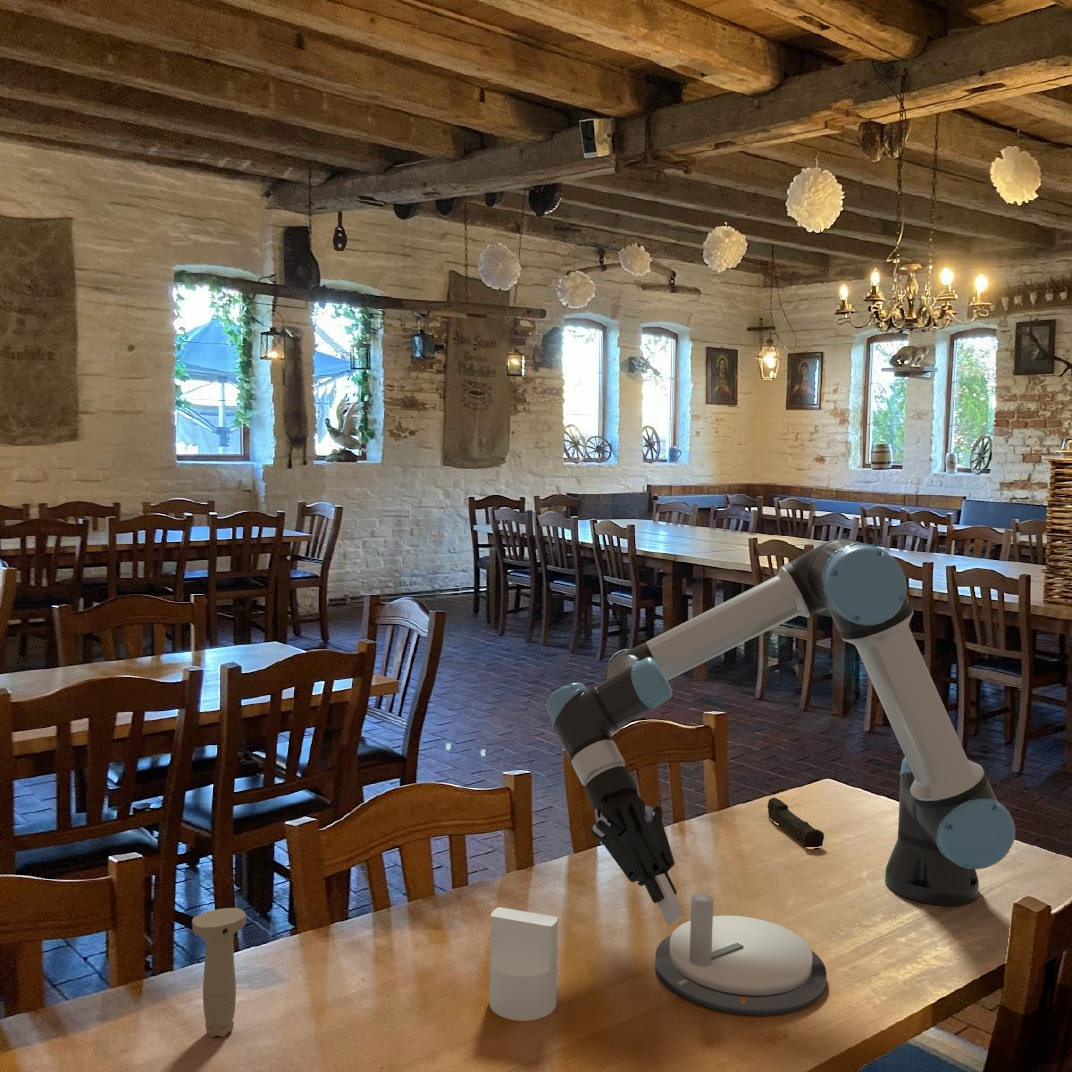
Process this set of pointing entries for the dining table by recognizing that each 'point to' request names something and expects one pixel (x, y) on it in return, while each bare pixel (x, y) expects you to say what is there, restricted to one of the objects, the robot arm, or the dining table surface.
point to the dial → (738, 952)
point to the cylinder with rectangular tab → (523, 964)
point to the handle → (219, 966)
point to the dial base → (736, 1002)
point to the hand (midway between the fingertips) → (676, 920)
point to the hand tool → (794, 824)
